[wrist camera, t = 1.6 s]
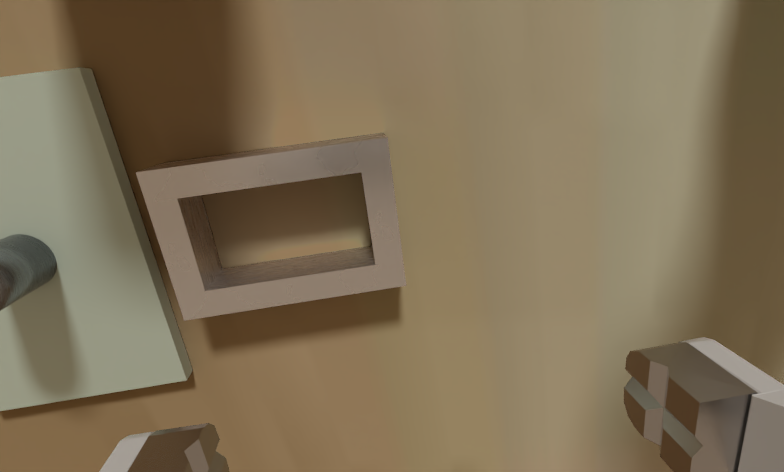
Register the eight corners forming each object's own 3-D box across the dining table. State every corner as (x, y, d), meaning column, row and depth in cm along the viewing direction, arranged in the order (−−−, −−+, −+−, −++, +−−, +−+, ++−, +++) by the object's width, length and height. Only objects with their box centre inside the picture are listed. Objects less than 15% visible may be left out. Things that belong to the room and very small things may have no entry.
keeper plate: (91, 68, 21) (79, 67, 20) (192, 370, 26) (186, 380, 26) (-163, 100, 20) (-189, 100, 19) (-3, 402, 26) (-16, 413, 25)
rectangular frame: (382, 132, 23) (387, 137, 20) (400, 265, 26) (406, 285, 23) (162, 163, 22) (135, 172, 20) (203, 295, 25) (184, 320, 22)
